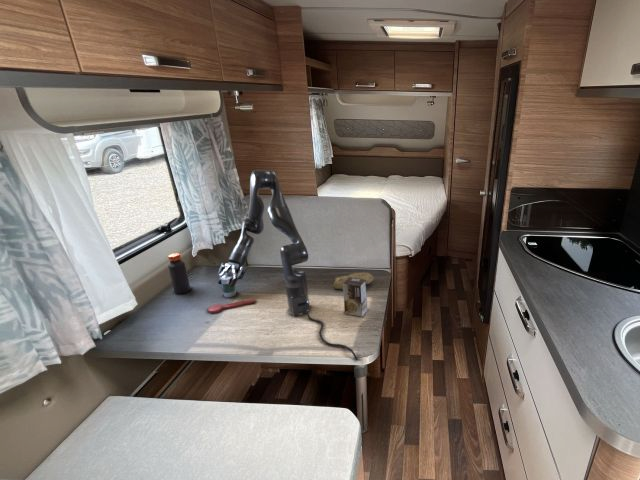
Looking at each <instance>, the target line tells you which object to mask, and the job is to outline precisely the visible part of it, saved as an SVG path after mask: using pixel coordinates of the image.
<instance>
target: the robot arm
mask: <svg viewBox="0 0 640 480" xmlns="http://www.w3.org/2000/svg"><path fill="white" fill-rule="evenodd" d="M249 177H250V178H249V207H248V212H247V213H248V214H247V217H246V218H244V219H243V221H242V223H241V231H240V236H239V237H238V240H237V242H236V244H235V245H234V247H233V249H232V251H231V253H230V255H229V257H228V262H227V263H224V262H222V263H221V264H220V267H219V269H218V271H217V275H219V277H218V279H217V282H216V283H217V285H222V284H221V279H220V278H221V277H222V276H224V275H231V274H232V275H233V279H232V281H231V283H230V286H231V287H234V286H235V287H236V284H237V282H238V281H239V280H242V279H243V278H244V275H245V274H246V271H247V268H246V267H244V265H245V263H246V261H247V259H248V257H249V254H250V251H251V249H252V247H253V245H254V242H255V238H254V237H252V236H251V235H249V234H248V233H250V234H251V233H252V234H255V235H260V234H262V233H263V232H264V230H265V223H264V213H265V203H264V201H263V199H262V197H261V196H260V193H259V190H270V191H271V198H270V201H269V204H268V206H267V215H268V217H269V220H270V223H271V225H272V226H273V227H274V228H275V229H277V230H278V231H279V232H281V233H282V234H284V235H285V236H287V238H288V239H290V241H291V242H292V243H290V244H286V245H283V246H281V247H280V251H279V253H280V261H281V265H282V270H283V276H284V283H285V291H286V298H287V307H288V313H289V314H290V315H292V316H293V317H298V316H302V315H306V316H307V317H308V319H309V320H310V321H312V322H316V323H319V324H321V327H320V329H319V333H318V334H319V338H320V340H321V341H322V342H323V343H324V344H326V345H328V346H332V347H333V346H334V347H342V348H345V349H346V350H348V351H349V352H350V353H351V354H352V356H353V357H354V359H355V361H358V360H359V359H358V356H357V355H356V353H355V351H353V349H352V348H350V347H349V346H347V345H345V344H339V343H331V342H328V341H326V340H325V339H324V338H323V336H322V330H323V328H324V323H323V322H322V321H321V320H318V319H314V318H312V317H311V316H310V313H309V312H310V310H311V308H310V307H311V306H310V300H309V289H308V281H307V280H308V279H307V271H306V270H305V269H304V268H302V267H297V266H296V265H298V264H303V263H306V262H307V261H309V251H308V248H307V246H306V245H305V242H304V240H303V238H302V237H301V235H300V233H299V231H298V229H297V226H296V223H295V221H294V218H293V215H292V213H291V211H290V209H289V207H288V204H287V202H286V200H285V197H284V195H283V192H282V188H281V186H280V182H279V178H278V176H277V173H276V172H275V171H274V170H273V169H253V170H252V171H251V174H250V176H249ZM294 266H295V267H294ZM360 398H361V399H360V400H361V425H362V431H365V413H364V411H365V410H364V392H362V393H361V397H360Z"/></svg>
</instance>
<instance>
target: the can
mask: <svg viewBox="0 0 640 480" xmlns="http://www.w3.org/2000/svg"><path fill="white" fill-rule="evenodd" d="M220 279H221V284H220V285H221V289H222V293H223V297H224V298H232V297H235V296H236V295H237V291H236V285H235V286H234V287H231V286H230V283H231V281H232V279H234V278H233V274H228V275H224V276H222V277H221V278H220Z"/></svg>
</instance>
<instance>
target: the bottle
mask: <svg viewBox="0 0 640 480" xmlns="http://www.w3.org/2000/svg"><path fill="white" fill-rule="evenodd" d="M167 259H168V261H169V264H168V265H167V268H168V272H169V276H170V279H171V283H172V287H173V291H174V293H175V294H177V295H178V294H185V293H188V292H189V291H190V290H191V284H190V281H189V276H188V271H187V268H186V264H185V262H184V261H183V260H181V259H182V258H181V254H180V253H178V252H174V253H170V254H168V255H167Z"/></svg>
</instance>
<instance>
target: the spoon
mask: <svg viewBox="0 0 640 480" xmlns="http://www.w3.org/2000/svg"><path fill="white" fill-rule="evenodd" d="M251 304H252V305H253V304H255V298H252V299H247V300H242V301H235V302H231V303H225V304H222V303H215V304H212V305H210V306H208V308H207V312H208V313H210V314H216V313H219V312H221V311H222V310H227V309H231V308H236V307H242V306H246V305H251Z"/></svg>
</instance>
